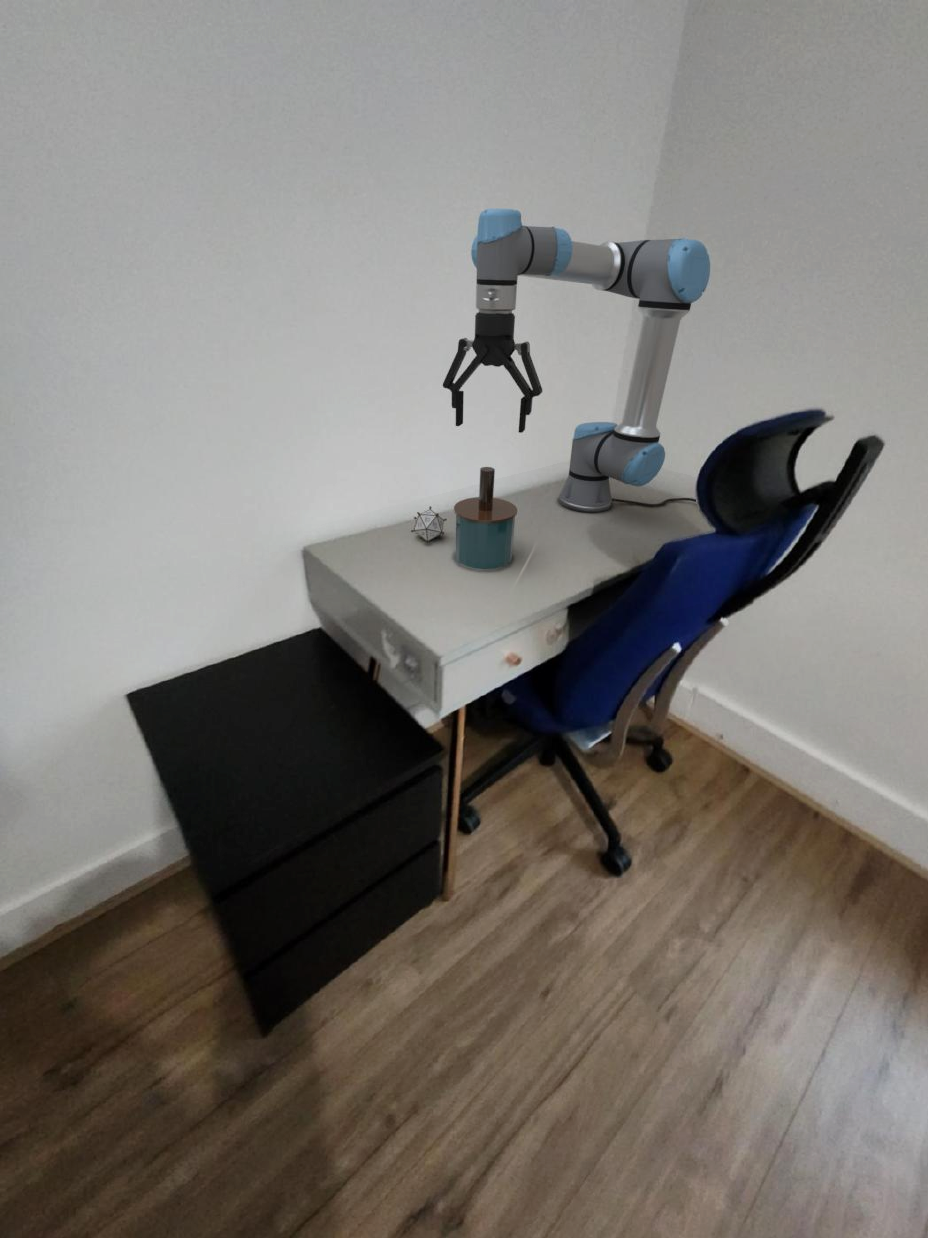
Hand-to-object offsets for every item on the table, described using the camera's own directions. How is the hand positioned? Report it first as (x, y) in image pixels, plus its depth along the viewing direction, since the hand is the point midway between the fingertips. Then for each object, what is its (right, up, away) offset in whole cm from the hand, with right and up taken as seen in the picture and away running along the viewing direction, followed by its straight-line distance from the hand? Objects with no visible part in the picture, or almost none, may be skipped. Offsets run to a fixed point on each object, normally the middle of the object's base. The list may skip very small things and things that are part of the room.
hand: (490, 427), depth 114 cm
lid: (-1, -15, +10) cm, 18 cm away
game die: (-14, -20, +24) cm, 35 cm away
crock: (-1, -25, +16) cm, 30 cm away
